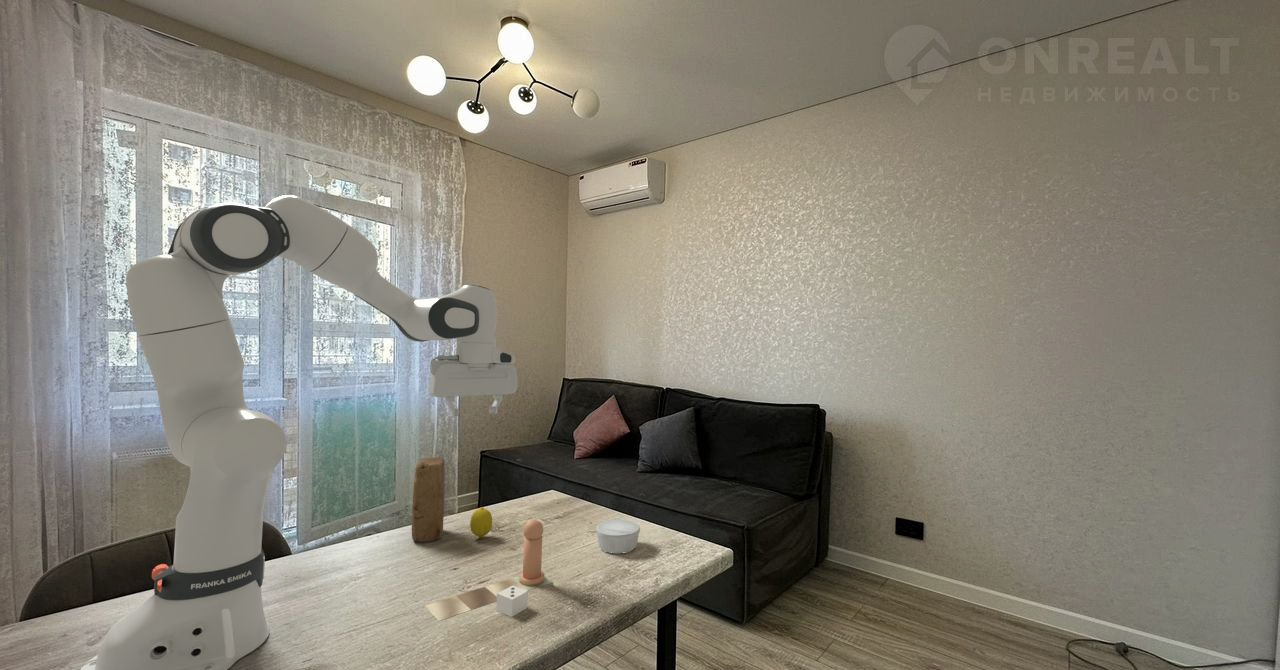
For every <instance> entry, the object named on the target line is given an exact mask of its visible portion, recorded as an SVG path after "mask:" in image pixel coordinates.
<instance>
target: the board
mask: <svg viewBox="0 0 1280 670" xmlns="http://www.w3.org/2000/svg"><path fill="white" fill-rule="evenodd" d="M519 576H520V575H518V576H514V577H511V578H508V579H505V580H501V581H499V582H496V583H492V584H489V585H486V586H482V587H480V588H475V589H473V590H469V591H467V592H464V593H460V594H458V595H454V596H450V597H448V598H444V599H441V600H437V601H435V602H431V603H428V604H426V605H424V607H425V608H426V609H427V610H428V611H429V612H430V613H431V614H432V615H433V617H434V618H435V619H436V620H437V621H438V622H440V621H443V620H447V619H449V618H452V617H455V616H457V615H461V614H464V613H466V612H469V611H472V610H476V609H478V608H481V607H484V606H487V605H490V604H494V603H497V593H499V592H501V591H503V590H505V589H507V588H509V587H511V586H516V587H518V588H521V589H524V590H526V591H528V592H529V591H531V590H534V589H537V588H540V587H542V586H543V587H544V586H546V585H551V586H552V587H553V586H554V581H552V580H551V579H549V578H548V577H547V576H545V575H544V582H542V583H541V584H539V585H535V586H525V585H522V584H520V582H519Z"/></svg>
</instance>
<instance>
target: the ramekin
mask: <svg viewBox="0 0 1280 670" xmlns="http://www.w3.org/2000/svg"><path fill="white" fill-rule="evenodd" d="M640 532H641V527H640V525H639V524H638V523H637V522H634V521H631V520H626V519H610V520H605V521H602V522H600V523H598V524H597V525H596V527H595V533H596V536H597V545H598V547H599V549H600V550H601V549H602V550H603V551H602V550H601V551H602V552H604V551H606V552H610V553H611V552H612V553H623V552H629V551H631V550H633V549H634V548H635V549H636V548H637V546H638V540H639V539H638V538H639V534H640ZM635 549H634V550H635ZM634 550H633V551H634ZM606 552H605V553H606ZM610 553H609V554H610ZM629 553H630V552H629Z"/></svg>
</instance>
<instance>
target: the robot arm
mask: <svg viewBox="0 0 1280 670" xmlns="http://www.w3.org/2000/svg"><path fill="white" fill-rule="evenodd" d="M277 257H280V258H284V259H287V260H288V261H292V262H294V263H295V264H297V265H299V267H302V268H303V269H305V270H306V271H308V272H309V273H312V274H314V275H315V276H317V277H319V278H321V279H323V280H325V281H327V282H329V283H330V284H333V285H335V286H337V287H339V288H341V289H343V290H345V291H347V292H349V293H351V294H353V295H354V296H356V297H357V298H358V299H360V300H361V301H363V302H365V303H366V304H368V305H370V306H371V307H372V308H374V309H376V310H377V311H379V312H380V313H382V314H383V315H385V316H386V317H388V318H389V319H390V320H391V321H392V322H393V323H394V324H395V326H396V327H397V328H398V329H399V332H401V334H403V336H405V337H406V338H407V339H409V340H410V341H414V342H420V343H421V342H427V341H429V342H430V341H451V340H454V339H456V346H455V347H456V348H455V349H456V350H455V352H456V353H455V355H452V354H451V355H449V354H448V355H444V354H443V355H442V354H440V355H437V356H435V357H434V358H432V360H431V361H430V379H429V387H428V393H429V394H430V395H431V397H434V398H444V402H445V403H446V405H447V407H448V409H449V417H451V418H453V417H454V418H457V417H459V415H460V408H458V407H455V405H454V402H455V401H456V400H455V399H456V397H468V396H469V397H472V396H490V395H491V396H492V398H493V399H494V401H493V403H492V404H491V405H489V406H488V414H490V415H497V414H498V409H499V408H498V407H499V406H500V405H501V403H502V401H503V399H504V397H503V396H504V395H514V394H515V393H516V391H517V390H518V371H517V368H516V366H515V362H516V356H515V355H514V354H512V353H510V352H507V351H504V350H501V349H498V348H497V340H496V336H495V335H496V333H495V332H496V328H497V325H498V323H497V322H498V307H497V306H498V305H497V299H496V294H495V293H494V292H493V291H492V290H491V289H489V288H487V287H485V286H482V285H476V284H465V285H462V287H461V288H459V289H457V290H455V291H454V292H451V293H448V294H444V295H441V296H435V297H424V298H421V297H416V296H412V295H409V294H407V293H406V292H404V291H403V290H401V289H400V288H398V287H397V286H395V285H394V284H392V283H391V282H390V281H389V280H387V279H386V278H385V277H383V276H382V275H381V274H380V273H379V272H378V270H377V267H378V262H379V258H378V257H379V256H378V252H377V249H376V246H375V245H374V244H373V243H372V242H371V241H370V240H369V239H368V238H367V237H366V236H364V235H363V234H362V233H361V232H360V231H358V230H357V229H356V228H354V227H353V226H351V225H349V224H348V223H347V222H345V221H344V220H342V219H340V218H339V217H338V216H336V215H334V214H332V213H330V212H329V211H328V210H325V209H324V208H321V207H320V206H317V205H315V204H314V203H312V202H310V201H307V200H305V199H304V198H301V197H299V196H296V195H290V194H289V195H281V196H279V197H276V198H273V199H272V200H271V201H269V202H268V203H267V204H266V205H265V206H264V207H262V206H255V205H248V204H243V203H235V202H222V203H215V204H212V205H209V206H205V207H201V208H199V209H197V210H195V211H193V212H192V213H190V214H189V215H188V216H187V217H186V218H185V219H184V220H183V221H182V222H181V223H180V224H179V225H178V226H177V229H176V231H175V232H174V235H173V239H172V241H171V245H170V247H169V249H168V252H167V254H163V255H162V254H160V255H159V254H158V255H155V256H151V257H147V258H144V259H142V260H140V261H138V262H136V263H135V264H133V265H132V266H131V267H130V268H129V269H128V271H127V273H126V276H125V283H126V294H127V300H128V306H129V310H130V315H131V318H132V322H133V325H134V328H135V330H136V334H137V337H138V339H139V342H140V345H141V348H142V351H143V354H144V356H145V359H146V362H147V365H148V367H149V370H150V372H151V375H152V378H153V381H154V383H155V387H156V392H157V396H158V403H159V410H160V414H161V419H162V424H163V428H164V432H165V435H166V444H167V446H168V449H169V451H170V454H172V456H173V457H174V458H175V460H177V461H178V462H179V463H180V464H183V465H185V466H187V467H189V471H190V477H189V481H188V482H189V483H188V486H187V489H186V495H185V498H184V501H183V503H182V506H181V508H180V510H179V512H178V513H177V515H176V519H175V529H174V530H175V531H174V532H175V533H174V549H173V550H174V551H173V564H172V565H169V566H168V564H165V563H161V564H158V565H156V566H155V567H154V568H153V569H152V571H151V579H152V580H153V581H154V583H153V585H154V586H153V593H154V594H153V595H151V596H150V597H149V598H147V599H146V600H145V601H144V602H142V603H140V604H139V605H138V606H137V607H135V608H133V609H132V610H131V611H129V613H127V614H126V615H124V616H123V617H122V618H120V619H119V620H117V621H116V622H115V623H114V624H113V625H112V626H111V628H110V629H109V630H108V632H107V633H106V635H105V636H104V639H103V640H102V643H101V645H100V647H99V650H98V652H97V654H96V655H95V656H93V657H92V658H91V659H89V660H88V661H87V662H86V663H85V664H83V666H82V667H81V668H79V670H229V669H230V668H231V667H232V666H233V665H234V664H235V663H236V662H237V661H239V660H240V659H242V658H244V657H245V656H246V655H248V654H250V653H251V652H253V651H255V650H257V648H259V647H260V646H261V645H262V644H263V643H264V642H265V641H266V640H267V639H268V637H269V636H270V629H269V626H268V623H267V620H266V616H265V612H264V606H263V597H262V586H263V582H264V579H265V567H266V566H265V562H266V561H265V560H266V558H265V557H266V556H265V552H264V549H263V548H262V543H263V542H262V540H263V525H264V524H263V521H264V511H265V510H264V509H265V503H266V498H267V494H268V490H269V487H270V483H271V481H272V477H273V474H274V472H275V468H276V467H277V466H278V464H279V463H281V461H282V459H283V458H284V455H285V453H286V451H287V446H288V445H287V444H288V442H287V436H286V434H285V431H284V429H283V428H282V427H281V426H280V425H279V424H278V423H277V422H276V421H275V420H274V419H273V418H271V417H270V416H268V415H267V414H265V413H264V412H260V411H257V410H252V409H249V407H248V405H247V404H246V401H245V395H244V385H243V371H244V369H245V362H244V359H243V356H242V353H241V348H240V347H239V343H238V340H237V337H236V336H237V335H236V333H235V330H234V328H233V324H232V321H231V319H230V316H229V312H228V310H227V307H226V305H225V302H224V295H223V288H224V285H225V281H226V279H227V278H228V277H230V276H238V275H243V274H246V273H249V272H252V271H256V270H258V269H260V268H263V267H265V266H266V265H268V264H269V263H270V262H272V261H273V260H274V259H275V258H277ZM92 663H96V664H94V665H90V664H92Z"/></svg>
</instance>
